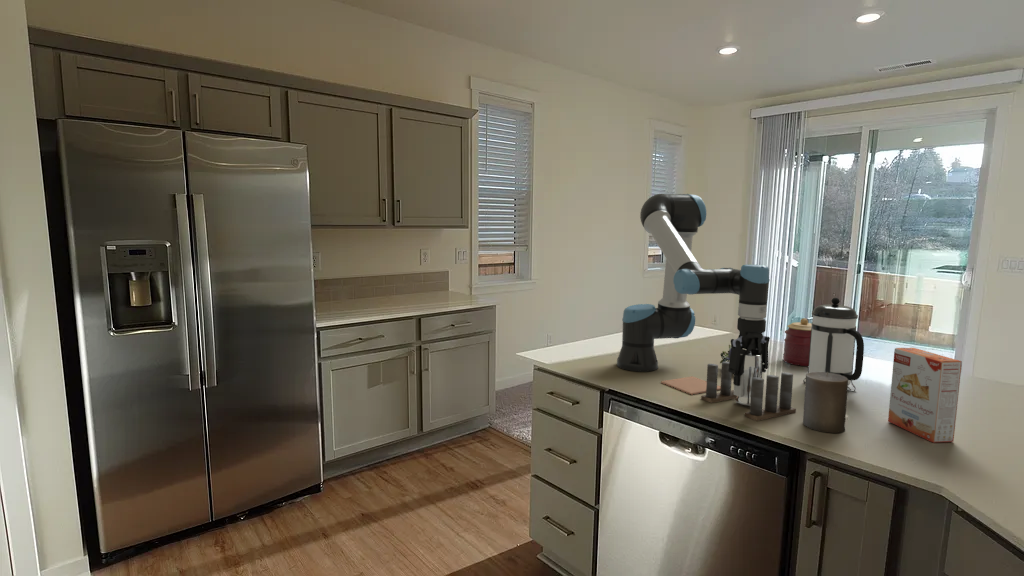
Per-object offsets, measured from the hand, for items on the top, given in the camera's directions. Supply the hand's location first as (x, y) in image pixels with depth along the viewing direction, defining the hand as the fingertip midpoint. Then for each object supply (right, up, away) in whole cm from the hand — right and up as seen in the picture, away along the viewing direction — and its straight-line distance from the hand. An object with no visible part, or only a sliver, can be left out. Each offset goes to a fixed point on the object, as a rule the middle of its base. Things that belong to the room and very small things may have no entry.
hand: (746, 393), depth 153 cm
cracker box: (+36, -6, -19) cm, 41 cm away
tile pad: (-10, -1, +19) cm, 21 cm away
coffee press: (+36, -2, +17) cm, 40 cm away
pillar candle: (+13, -6, -16) cm, 21 cm away
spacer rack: (0, -3, 0) cm, 3 cm away
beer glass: (0, -3, 0) cm, 3 cm away
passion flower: (+12, 0, +36) cm, 38 cm away
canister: (+44, +2, +49) cm, 66 cm away
